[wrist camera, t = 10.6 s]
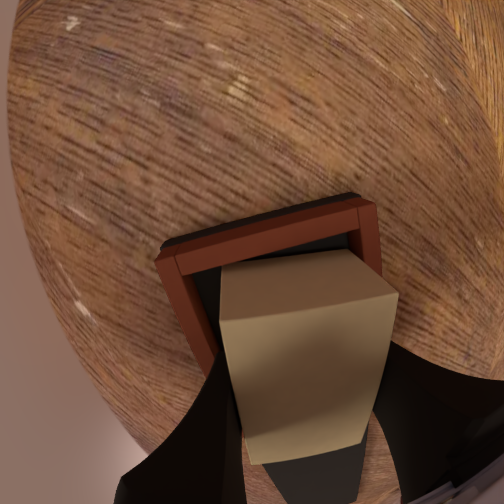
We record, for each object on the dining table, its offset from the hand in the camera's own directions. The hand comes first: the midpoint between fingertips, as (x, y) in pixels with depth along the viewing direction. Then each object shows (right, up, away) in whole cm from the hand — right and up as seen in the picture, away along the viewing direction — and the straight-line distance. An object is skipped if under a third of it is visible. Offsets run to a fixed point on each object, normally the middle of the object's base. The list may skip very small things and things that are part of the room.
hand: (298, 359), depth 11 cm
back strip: (+3, -12, +7) cm, 15 cm away
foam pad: (0, 0, +1) cm, 1 cm away
